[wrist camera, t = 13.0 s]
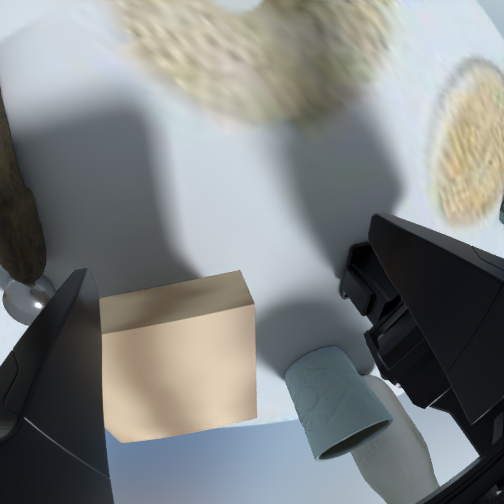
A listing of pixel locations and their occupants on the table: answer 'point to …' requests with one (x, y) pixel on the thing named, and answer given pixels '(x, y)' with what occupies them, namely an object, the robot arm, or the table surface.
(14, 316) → the steel token
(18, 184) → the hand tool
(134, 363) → the beige wooden box
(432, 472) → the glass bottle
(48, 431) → the robot arm
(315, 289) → the table surface
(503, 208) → the can
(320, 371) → the grey green cup
